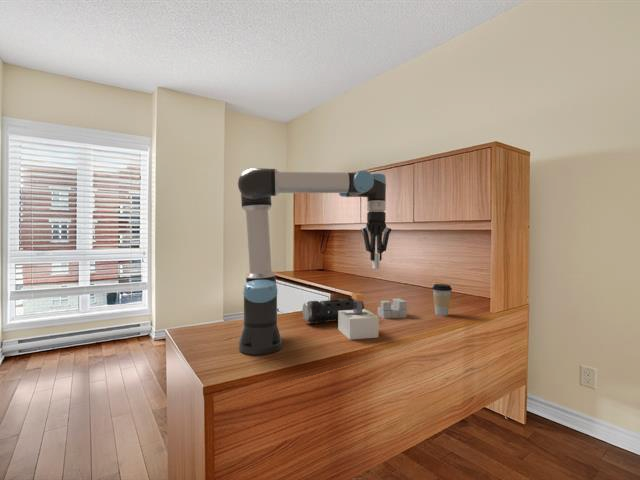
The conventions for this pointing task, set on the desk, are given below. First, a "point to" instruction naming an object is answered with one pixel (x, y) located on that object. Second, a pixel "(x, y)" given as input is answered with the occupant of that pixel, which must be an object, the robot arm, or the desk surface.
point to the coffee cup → (441, 298)
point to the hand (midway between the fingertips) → (375, 268)
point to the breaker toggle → (357, 302)
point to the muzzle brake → (325, 309)
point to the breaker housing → (358, 324)
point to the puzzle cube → (393, 309)
